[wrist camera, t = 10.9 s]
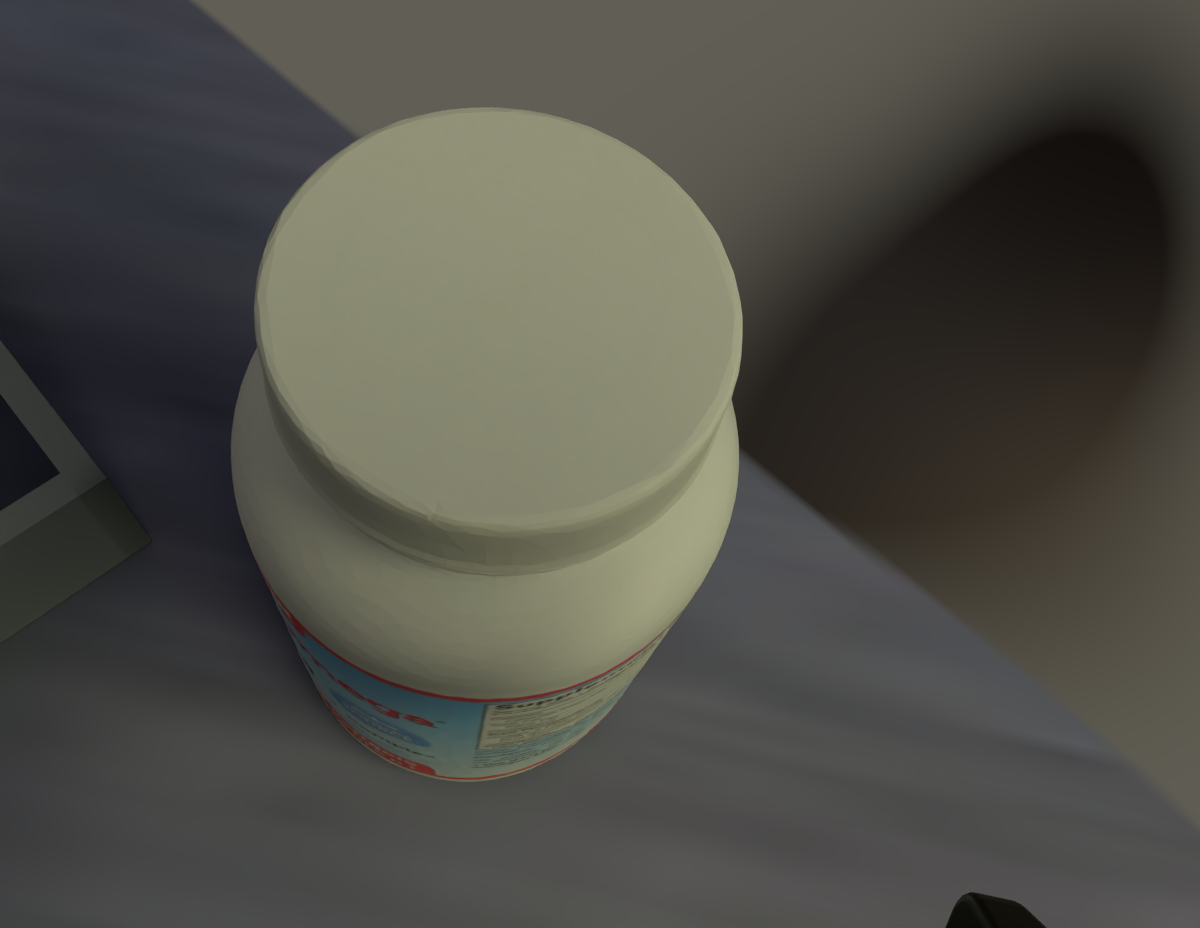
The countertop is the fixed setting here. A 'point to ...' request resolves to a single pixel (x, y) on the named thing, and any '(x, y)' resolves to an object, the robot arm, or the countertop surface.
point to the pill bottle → (486, 431)
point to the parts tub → (56, 516)
